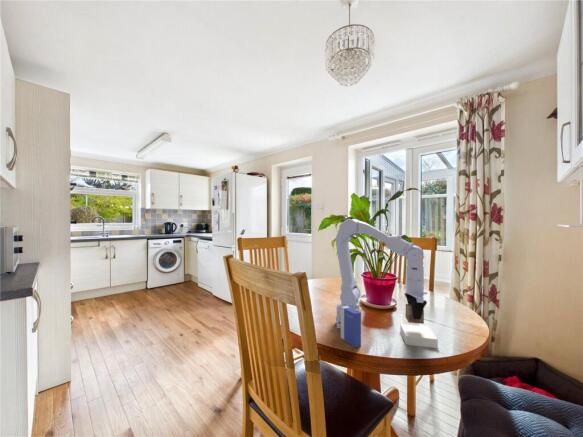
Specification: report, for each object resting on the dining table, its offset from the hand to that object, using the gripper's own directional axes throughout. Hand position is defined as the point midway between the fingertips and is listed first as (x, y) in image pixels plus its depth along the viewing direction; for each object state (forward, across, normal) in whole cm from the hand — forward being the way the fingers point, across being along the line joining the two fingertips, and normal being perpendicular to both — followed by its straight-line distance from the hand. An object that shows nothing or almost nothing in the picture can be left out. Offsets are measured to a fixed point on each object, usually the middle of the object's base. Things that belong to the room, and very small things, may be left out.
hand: (415, 315), depth 90 cm
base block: (+8, 0, -1) cm, 9 cm away
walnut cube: (+2, 0, 0) cm, 2 cm away
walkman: (+9, -8, +23) cm, 26 cm away
